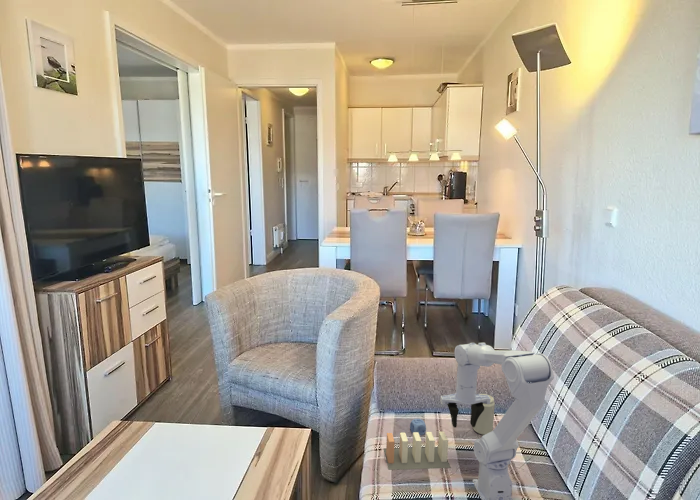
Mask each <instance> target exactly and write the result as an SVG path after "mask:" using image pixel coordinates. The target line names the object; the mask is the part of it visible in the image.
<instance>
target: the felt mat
mask: <svg viewBox="0 0 700 500" xmlns="http://www.w3.org/2000/svg"><path fill="white" fill-rule="evenodd" d="M383 453H384V457H385V463H386V466H387V469H388V470H389V471H393V470H396V471H397V470H427V469H431V470H432V469H451V468H452V467H451V465H450V462H449V460H448V459H447V462H442V461H441V459H440V457H439V454H438V446H435V449H434V462H428V460H427V457H426V454H425V446H421V462H419V463H415V461H414V458H413V455H412V447H408V455H407V463H402V462H401V459H400V455H399V447H394V463H388V460H387V456H386V448H383Z"/></svg>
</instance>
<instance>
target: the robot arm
mask: <svg viewBox="0 0 700 500" xmlns="http://www.w3.org/2000/svg"><path fill="white" fill-rule="evenodd" d="M454 358H455V362H456V363H457V368H456V370H457V371H456V372H457V373H456V384H455V385H456V387H455V393H451V394H447V395H446V394H445V395H440V398H439V399H440V400H439V402H440V403H441V405H442V406H446V405H447V408H448V411H449V414H450V418H451V425H452V426H453V428H457V425H458V424H457V423H458V415H459V410H460V409H459V408H458V404H459V405H465V406H470V412H471V413H470V425H471V426H472V428H473V427H475V425H476V422H477V420H478V418H479V416H480V415H481V413H482V412H483V411H484V406H483V403H486V404H490V399H491V398H490V397H489V396H488V395H489V394H487V395H480V394H481V393H477V386H478V385H477V383H478V370H480V368H481V367H486V368H487V367H492V366H493V365H494V364H497V365H501V372H502V373H503V374H504V377H505V380H506V383H507V386H508V388H509V392H510V394H511V397H513V398H514V401H513V402H512V403H511V405H510V406H509V408H508V409H507V410H506V411H505V413H504V415H503V416H502V417H501V419H499V422H498V423H497V424H496V426H495V427H494V428H493V431H491V432H489V433H487V434H485V435H482V436H481V437H480V438H476V439H475V440H474V443H473V454H474V456H475V458H476V460H477V462H478V463H479V465H478V479H477V478H475V479H474V478H473V479H472V483H473V485H474V488H475V489H476V491H477V493H478V495H479V498H480V499H481V500H513V498H512V491H513V481H512V479H511V477H510V475H509V470H508V469H509V465H510V464H511V463H512V462H511V461H512V460H513V459H515V458H516V456H517V451H518V448H519V447H520V444H519V442H518V438H519V437H520V435H521V434H522V433H524V431H525V429H526V428H527V427H528V425H529V424H530V423H531V422H532V421H533V420H534V418H535V417H536V416H537V414H538V413H539V412H540V411H541V409H542V408H543V406H544V403H545V399H546V395H547V390H548V387H549V385H550V384H551V383H552V381H553V380H554V378H555V376H554V371H553V366H552V362H551V361H550V359H549V357H548V356H547V355H546V354H543V353H536V354H535V352H533V351H527V350H510V349H509V350H508V349H507V350H506V349H504V350H500V349H499V350H498V349H497V350H495V349H494V348H493V346H491V345H489V344H486V342H478V344H477V343H475V342H469V343H465V344H458V345H456V346H455V348H454Z"/></svg>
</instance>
